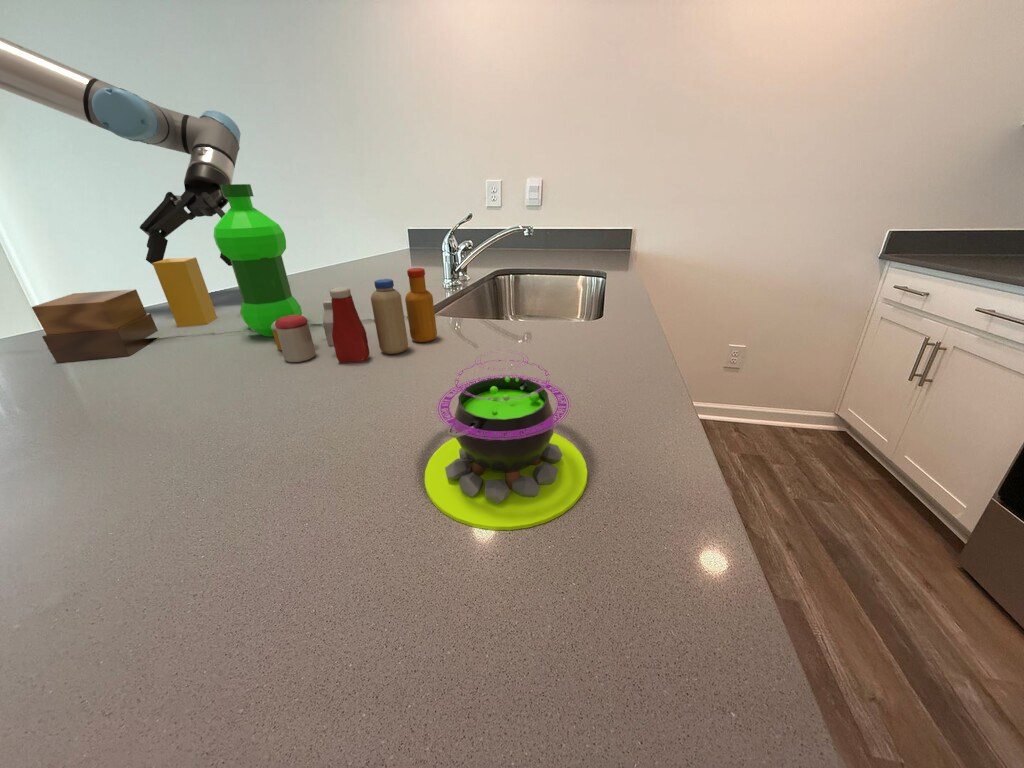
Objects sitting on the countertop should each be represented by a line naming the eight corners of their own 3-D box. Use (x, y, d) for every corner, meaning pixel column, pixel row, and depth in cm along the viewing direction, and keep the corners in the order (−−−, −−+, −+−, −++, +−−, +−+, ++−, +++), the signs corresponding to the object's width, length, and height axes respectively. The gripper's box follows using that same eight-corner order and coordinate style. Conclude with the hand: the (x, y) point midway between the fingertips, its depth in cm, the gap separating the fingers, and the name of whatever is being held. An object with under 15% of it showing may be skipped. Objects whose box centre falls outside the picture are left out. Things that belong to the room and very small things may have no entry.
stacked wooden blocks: (56, 363, 65) (25, 307, 61) (97, 342, 74) (72, 293, 70) (129, 356, 67) (104, 302, 63) (160, 336, 76) (140, 288, 72)
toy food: (439, 333, 73) (432, 265, 68) (428, 361, 62) (418, 281, 57) (290, 338, 73) (271, 270, 68) (252, 366, 62) (225, 287, 56)
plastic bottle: (252, 345, 70) (200, 184, 59) (242, 331, 78) (195, 185, 67) (313, 332, 76) (276, 183, 65) (298, 320, 83) (263, 184, 72)
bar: (179, 332, 78) (151, 262, 72) (191, 325, 82) (166, 258, 76) (209, 330, 79) (184, 261, 73) (219, 322, 83) (196, 257, 77)
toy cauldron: (484, 414, 47) (478, 322, 42) (609, 449, 40) (620, 345, 35) (388, 490, 36) (365, 376, 31) (542, 559, 29) (543, 426, 24)
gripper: (132, 163, 81) (104, 252, 74) (260, 161, 83) (245, 248, 76) (162, 192, 88) (138, 276, 81) (279, 190, 90) (266, 271, 83)
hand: (189, 262), depth 78 cm, fingers open, 13 cm apart
